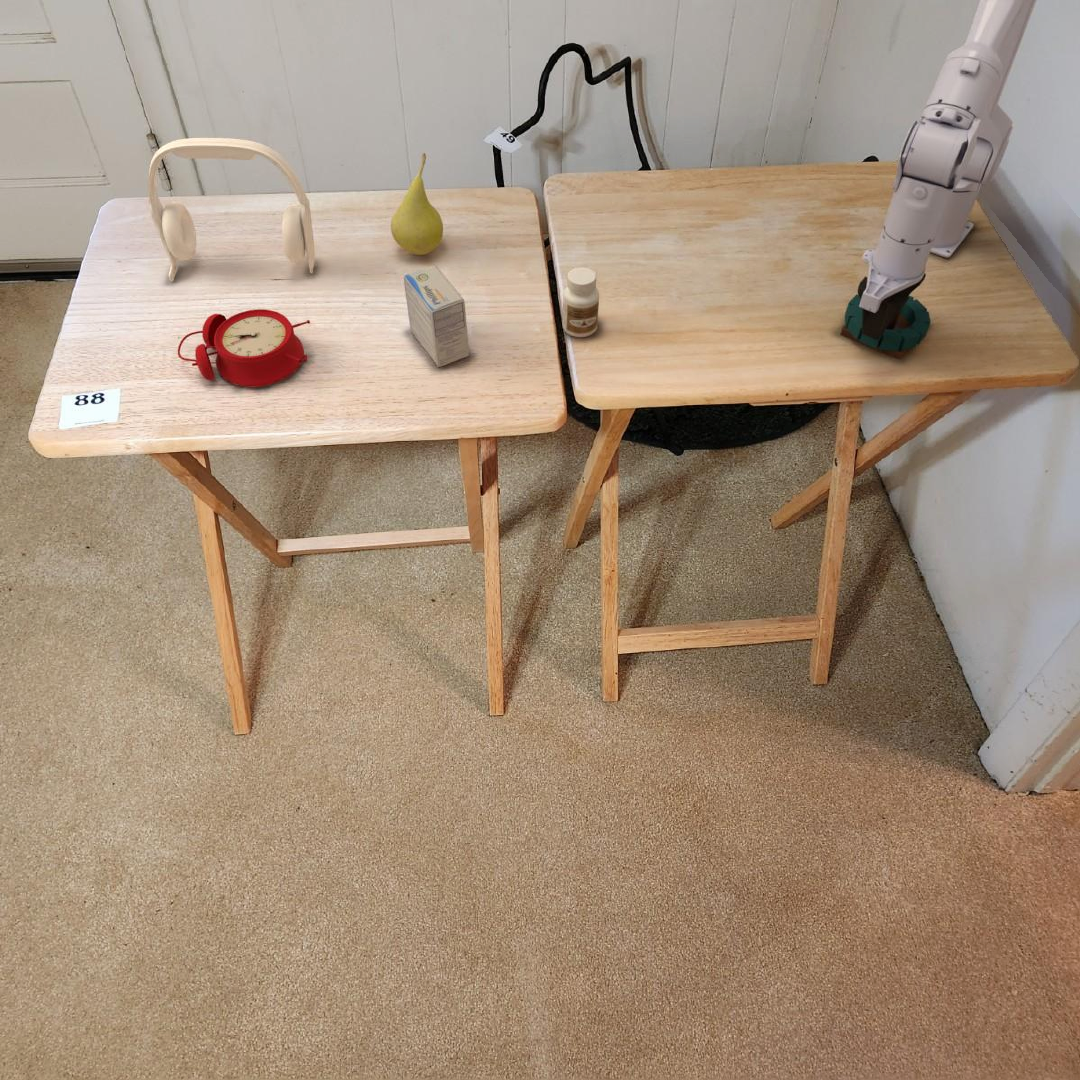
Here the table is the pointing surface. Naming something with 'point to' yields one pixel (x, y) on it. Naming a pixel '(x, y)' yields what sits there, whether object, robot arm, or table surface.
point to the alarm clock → (249, 348)
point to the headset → (178, 221)
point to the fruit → (417, 220)
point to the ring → (889, 338)
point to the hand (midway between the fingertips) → (875, 329)
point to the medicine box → (437, 315)
